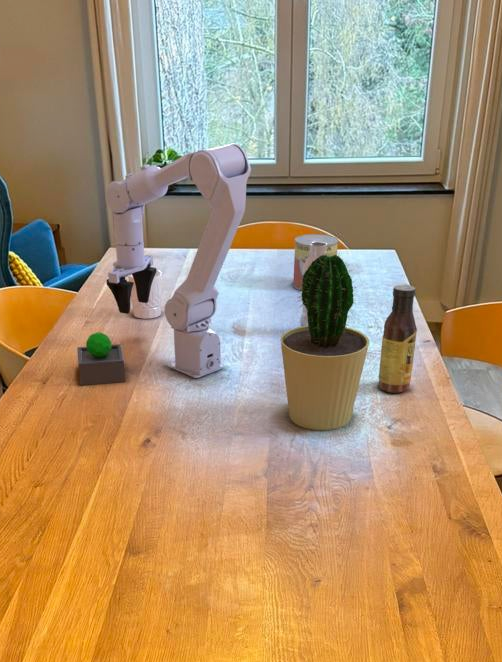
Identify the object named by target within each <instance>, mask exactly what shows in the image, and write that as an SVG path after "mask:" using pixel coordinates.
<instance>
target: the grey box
mask: <svg viewBox="0 0 502 662" xmlns="http://www.w3.org/2000/svg"><path fill="white" fill-rule="evenodd" d="M111 346H112V347H111V350H110V352H109V354H108V355H106V356H105V357H102V358H97V357H94V356H92V355H91V354H90V353H89V352H88V350H87V347H86V346H78V347H77V348H76V350H77V366H78V374H79V375H78V376H79V383H80V386H89V385H100V384H102V385H103V384H115V383H125V382H126V381H127V380H126V370H125V369H126V367H125V360H124V353H123V347H122V344H121V343H119V344H111Z"/></svg>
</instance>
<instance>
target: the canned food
mask: <svg viewBox="0 0 502 662" xmlns="http://www.w3.org/2000/svg"><path fill="white" fill-rule="evenodd" d="M313 242H324V243H326V244H327V253H326V254H325V255H327V256H329V255H330V256H333V255H335V254H336V255H337V256H338V250H339V249H338V247H339V242H340V241H339V238H338V237H336V236H333V235H330V234H321V233H310V234H301V235H298V236H295V238H294V256H293V257H294V258H293V282H292V287H293V288H294V289H296V290H298V291H301V290H302V283H303V269H302V268H303V266H304V263H305V262H306V260H307V259H308V258H309V256H310V255H311V253H310V252H309V251H310V244H311V243H313ZM330 256H329V257H330ZM301 273H302V274H301ZM298 281H299V282H298ZM300 285H301V286H300ZM296 286H297V287H296ZM299 287H300V288H299ZM299 289H300V290H299Z"/></svg>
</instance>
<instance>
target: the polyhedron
mask: <svg viewBox="0 0 502 662" xmlns="http://www.w3.org/2000/svg"><path fill="white" fill-rule="evenodd" d="M85 344H86V345H85V347H87V350H88V352H89V353H90V354H91V355H92V356H94V357H97V358H102V357H105V356H106V355H108V354H109V352H110V350H111V347H112V346H111V345H112V341H111V339H110V338H109V336H108V335H107V334H105V333H103V332H99V331H98V332H94V333H92V334H90V335H89V336H88V338H87V340H86V342H85Z"/></svg>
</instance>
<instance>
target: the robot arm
mask: <svg viewBox="0 0 502 662" xmlns="http://www.w3.org/2000/svg"><path fill="white" fill-rule="evenodd" d="M251 172H252V167H251V164H250V161H249V158H248V155H247V153H246V151H245V150H244V148H243V147H242V146H241V145H239V144H237V143H228V144H226V145H223V146H218V147H213V148H209V149H199V150H197V151H195V152H190V153H185V154H184V155H183V156H180V157H179V158H177V159H175V160H174V161H172V162H170V163H169V164H167V165H165V166H163V167H159V166H156V165H150V164H149V163H148V164H144V165H142V166H140V171H138V172H135V173H134V174H133V173H128V174H126V175H125V176H124V177H125V178H124V179H122V180H118V181H117V180H112V181H111V182H110V183H109V184H108V185H107V186H106V188H105V194H104V195H105V201H106V204H107V207H108V208H109V209H110V210H111V211H112V216H113V218H112V219H113V225H114V226H113V228H114V229H113V230H114V241H115V242H114V243H115V253H116V261H114V262H112V266H113V268H112V270H111V271H108V273H107V276H108V278H107V279H106V280H105V281H106V282H105V283H106V286H107V287H108V288H109V290H110V292H111V293H112V295H113V297H114V300H115V302H116V305H117V308H118V311H119V313H121V314H124V315H125V314H126V315H129V314H130V313H131V291H132V287H133V284H134V282H129V280H128V279H126V278H127V277H128V276H129V275H131V274H132V276H133V278H134V281H135V285H136V292H137V298H138V301H139V302H142V303H148V300H149V295H150V289H151V285H152V282H153V279H154V277H155V274H156V273H157V270H158V268H157V267H153V265H154V256H153V255H148V254H145V244H144V243H145V242H144V227H143V226H144V225H143V217H144V215H145V206H146V204H148V203H150V202H152V201H153V202H154V201H155V200H157V199H160V198H162V197H163V196H165V195H166V194H167V192H168V190H169V186H170V185H173V184H176V183H178V182H180V181H183V180H185V179H187V181H189V182H192V181H193V183H194V185H195V186H196V188H197V189H198V191H199V193H200V194H201V196H202V197H203V199H204V201H205V202H206V204H207V205H208V206H209V207H210V208H211V209H212V210H211V214H210V216H209V219H208V221H207V224H206V227H205V229H204V232H203V234H202V237H201V240H200V242H199V245H198V247H197V250H196V252H195V256H194V257H193V261H192V262H191V263H192V264H191V266H190V269H189V272H188V274H187V276H186V279H185V280H184V281H183V282H182V283H181V284H180V285H179V286H178V287H177V288H176V289H175V290H174V293H173V295H172V296H171V297H170V298H169V299H168V300H167V301H166V303H165V305H164V317H165V319H166V321H167V323H168V324H169V326H170V328H171V329H173V342H174V343H173V344H174V345H173V346H174V360H173V361H170V362H168V363H166V367H168V368H169V369H173V370H174V371H177V372H180V373H181V374H184V375H186V376H188V377H191V378H194V379H199V378H201V377H205V376H208V375H209V374H212V373H215V372H217V371H220V370H222V369H224V365H222V364H221V363H222V362H221V340H220V337H219V335H218V334H217V333H216V332H214V331H213V330H212V329H211V327H210V324H211V323H212V317H213V316H215V313H216V312H217V299H218V296H219V294H220V293H219V291H218V289H217V288H216V287H215V285H216V282H217V279H218V277H219V275H220V272H221V270H222V268H223V266H224V263H225V260H226V258H227V256H228V253H229V251H230V249H231V246H232V243H233V242H234V238H235V236H236V234H237V231H238V229H239V227H240V224H241V222H242V219H243V218H244V215H245V212H246V202H247V201H246V200H247V183H248V179H249V177H250V175H251Z"/></svg>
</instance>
